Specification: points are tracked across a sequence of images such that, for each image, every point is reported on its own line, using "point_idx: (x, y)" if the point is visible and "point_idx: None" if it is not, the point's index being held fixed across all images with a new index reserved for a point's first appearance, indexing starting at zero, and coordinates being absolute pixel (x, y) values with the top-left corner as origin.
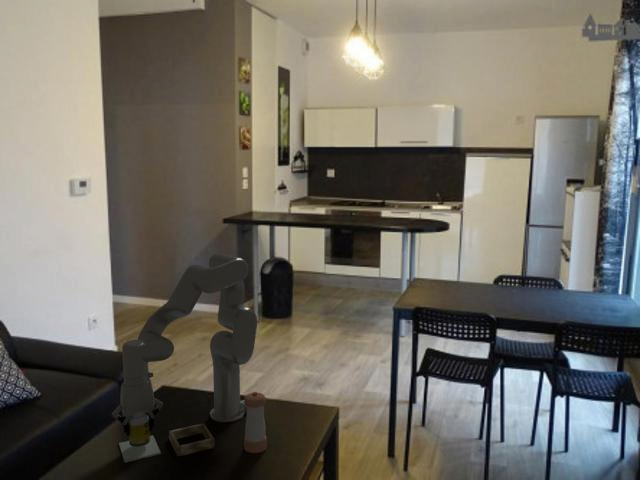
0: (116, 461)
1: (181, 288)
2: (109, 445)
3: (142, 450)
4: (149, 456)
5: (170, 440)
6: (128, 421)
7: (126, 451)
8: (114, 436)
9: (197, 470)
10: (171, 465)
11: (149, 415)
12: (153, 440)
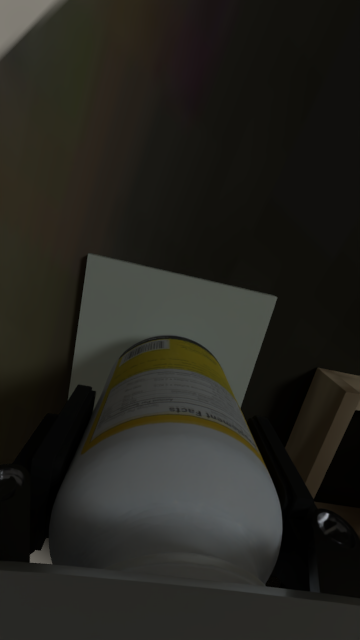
0: (36, 398)
1: None
2: (41, 221)
3: None
4: None
5: (311, 396)
6: (49, 527)
7: (96, 366)
8: (97, 122)
9: None
10: None
11: (293, 556)
12: (250, 350)
